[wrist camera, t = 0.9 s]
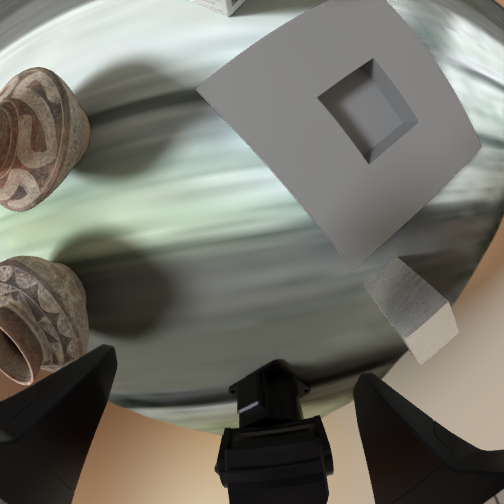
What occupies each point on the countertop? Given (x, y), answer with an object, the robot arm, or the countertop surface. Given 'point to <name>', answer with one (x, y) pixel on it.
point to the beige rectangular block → (413, 309)
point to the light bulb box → (221, 5)
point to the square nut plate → (347, 119)
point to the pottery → (24, 198)
